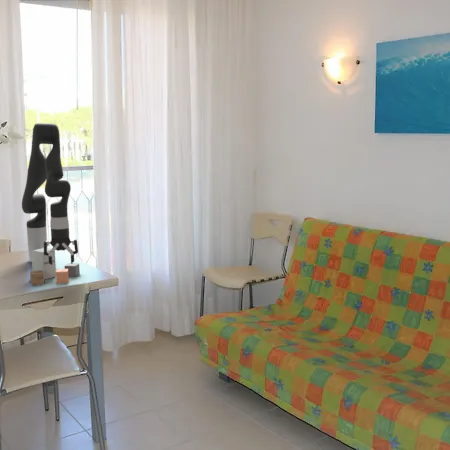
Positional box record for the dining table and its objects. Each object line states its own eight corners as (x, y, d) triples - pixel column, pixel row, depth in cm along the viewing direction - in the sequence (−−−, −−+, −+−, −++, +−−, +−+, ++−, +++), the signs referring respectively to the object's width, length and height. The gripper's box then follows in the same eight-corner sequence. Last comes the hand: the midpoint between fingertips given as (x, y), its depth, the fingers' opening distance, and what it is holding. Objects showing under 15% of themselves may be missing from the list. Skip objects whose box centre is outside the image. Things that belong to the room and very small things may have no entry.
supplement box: (43, 280, 266) (42, 252, 263) (32, 278, 269) (30, 250, 267) (56, 276, 272) (55, 249, 270) (45, 274, 276) (43, 247, 273)
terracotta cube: (56, 280, 266) (56, 269, 265) (68, 279, 267) (68, 268, 266) (56, 283, 261) (55, 272, 260) (68, 282, 262) (67, 271, 261)
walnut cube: (30, 282, 262) (29, 271, 261) (42, 281, 264) (42, 270, 263) (31, 285, 258) (31, 274, 257) (44, 284, 260) (43, 272, 259)
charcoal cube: (69, 273, 277) (68, 263, 276) (79, 274, 276) (79, 263, 276) (65, 276, 272) (64, 265, 271) (75, 276, 271) (75, 266, 271)
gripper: (76, 224, 265) (78, 261, 268) (43, 226, 262) (45, 262, 264) (76, 227, 258) (78, 264, 260) (41, 229, 254) (44, 266, 257)
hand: (61, 263), depth 262 cm, fingers open, 8 cm apart
